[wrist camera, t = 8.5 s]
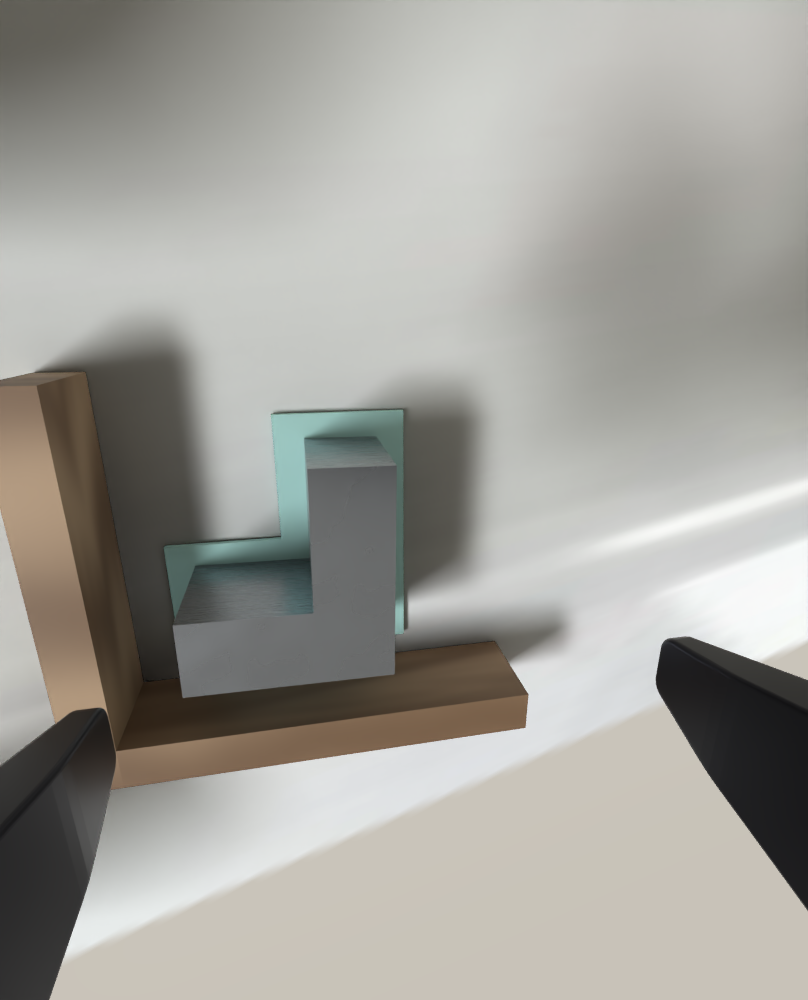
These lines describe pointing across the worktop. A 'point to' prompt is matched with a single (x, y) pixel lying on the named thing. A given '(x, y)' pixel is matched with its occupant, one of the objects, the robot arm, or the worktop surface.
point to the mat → (298, 498)
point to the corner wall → (159, 704)
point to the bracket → (303, 588)
